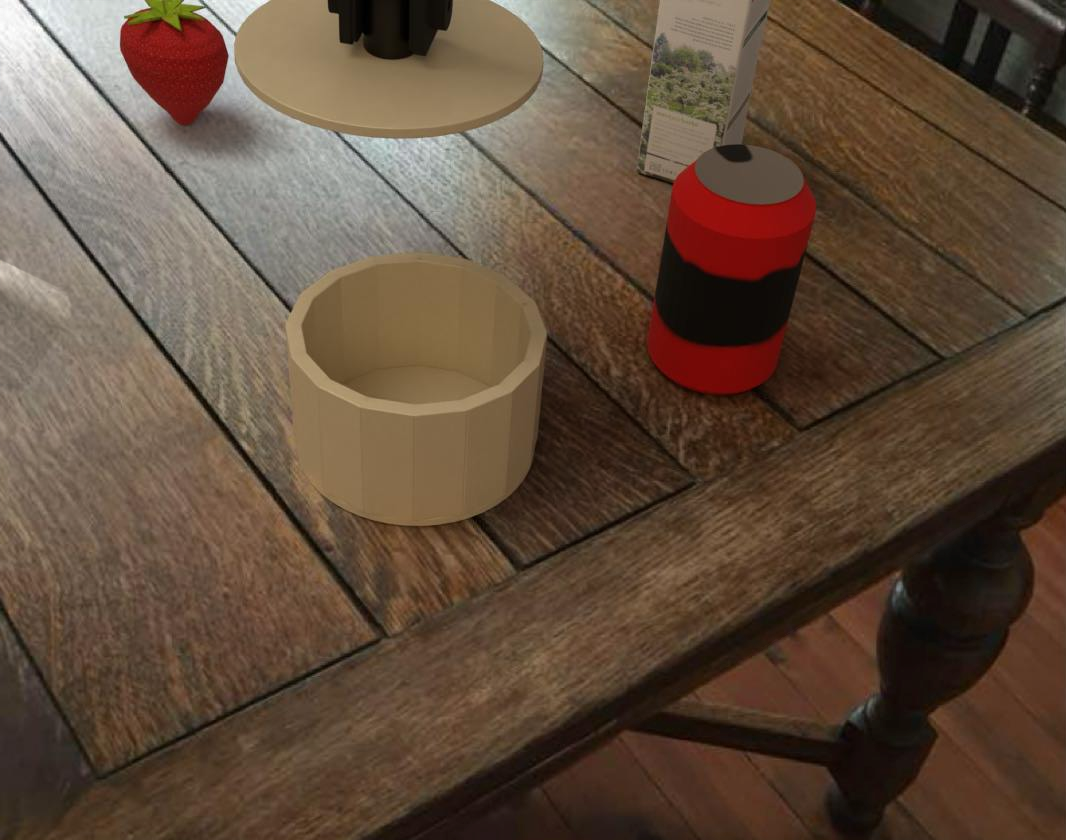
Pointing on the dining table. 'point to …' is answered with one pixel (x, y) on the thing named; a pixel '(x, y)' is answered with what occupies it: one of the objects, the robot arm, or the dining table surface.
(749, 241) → the soda can
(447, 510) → the pot
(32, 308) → the dining table surface
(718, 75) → the syrup box
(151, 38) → the strawberry
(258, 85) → the lid
